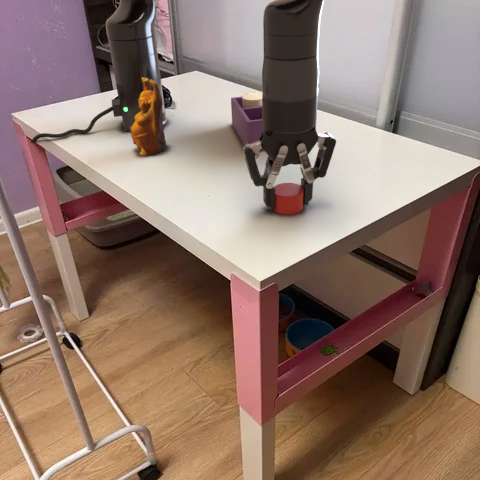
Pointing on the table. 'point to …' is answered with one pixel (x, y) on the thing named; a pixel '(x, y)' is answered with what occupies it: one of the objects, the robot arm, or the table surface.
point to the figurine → (149, 121)
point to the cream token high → (251, 100)
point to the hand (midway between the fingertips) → (287, 204)
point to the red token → (288, 198)
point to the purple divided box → (246, 121)
